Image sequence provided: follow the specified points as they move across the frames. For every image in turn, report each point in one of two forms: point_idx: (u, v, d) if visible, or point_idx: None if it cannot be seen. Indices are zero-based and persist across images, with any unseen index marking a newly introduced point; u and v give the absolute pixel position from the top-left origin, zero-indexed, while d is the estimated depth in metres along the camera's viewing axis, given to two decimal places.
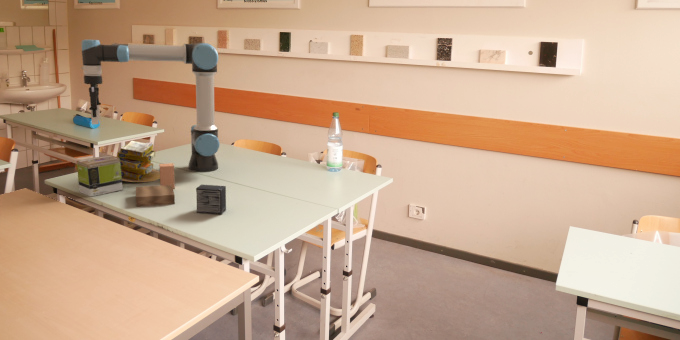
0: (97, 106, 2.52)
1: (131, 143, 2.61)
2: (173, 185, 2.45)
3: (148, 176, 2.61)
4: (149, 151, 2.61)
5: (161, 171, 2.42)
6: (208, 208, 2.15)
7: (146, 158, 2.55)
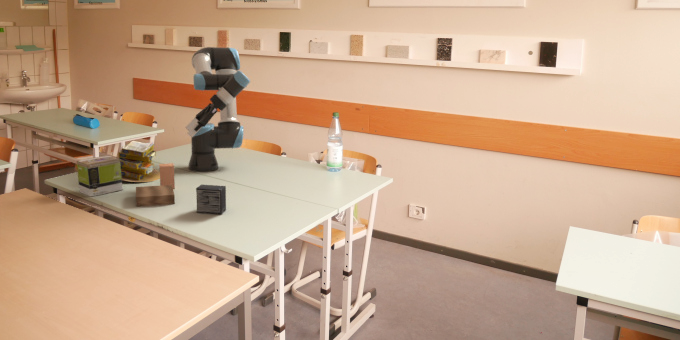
0: (197, 121, 2.51)
1: (132, 143, 2.62)
2: (173, 185, 2.45)
3: (149, 176, 2.62)
4: (150, 151, 2.62)
5: (161, 171, 2.42)
6: (208, 209, 2.15)
7: (147, 158, 2.56)
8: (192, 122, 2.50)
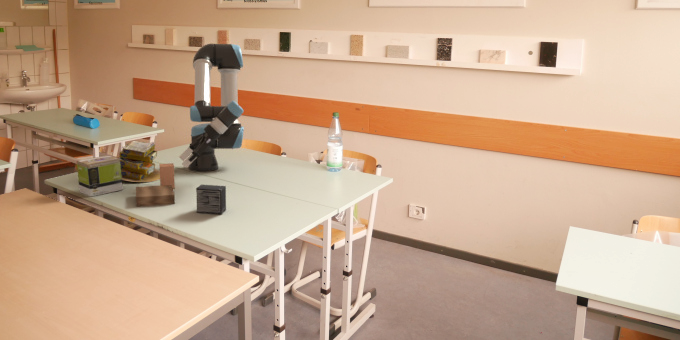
0: (191, 150, 2.53)
1: (133, 143, 2.62)
2: (173, 185, 2.45)
3: (150, 176, 2.62)
4: (151, 151, 2.62)
5: (161, 171, 2.42)
6: (208, 208, 2.15)
7: (148, 158, 2.56)
8: (186, 151, 2.52)
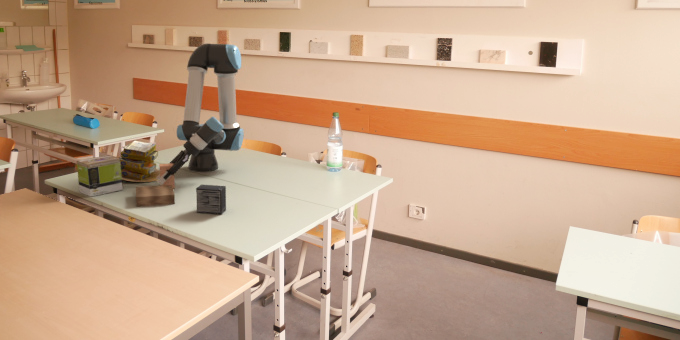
0: None
1: (134, 143, 2.62)
2: (173, 185, 2.45)
3: (151, 176, 2.62)
4: (152, 151, 2.62)
5: (161, 171, 2.42)
6: (208, 209, 2.15)
7: (149, 158, 2.56)
8: None
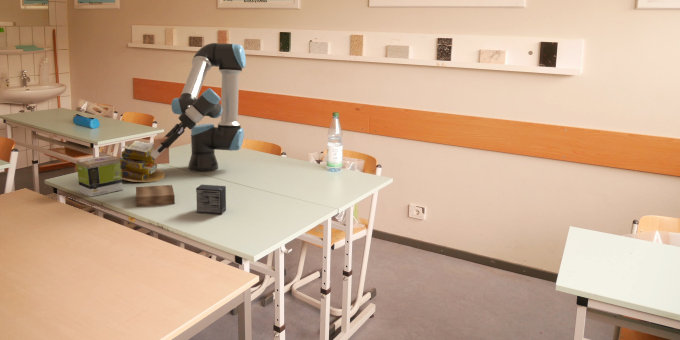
0: None
1: (135, 143, 2.62)
2: (168, 159, 2.36)
3: (152, 176, 2.62)
4: None
5: (156, 144, 2.32)
6: (208, 208, 2.15)
7: (150, 158, 2.56)
8: None
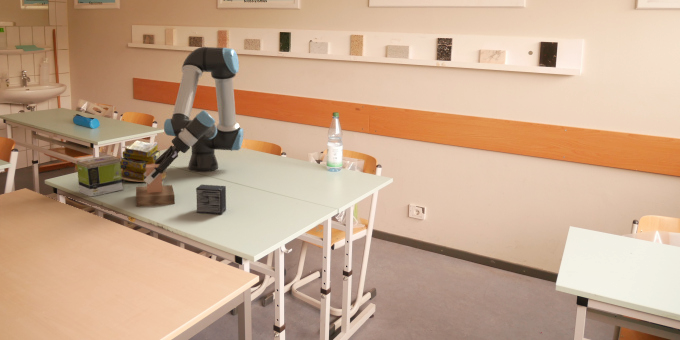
0: None
1: (136, 143, 2.62)
2: (161, 187, 2.27)
3: None
4: (154, 151, 2.62)
5: (148, 172, 2.24)
6: (208, 209, 2.15)
7: (151, 158, 2.56)
8: None
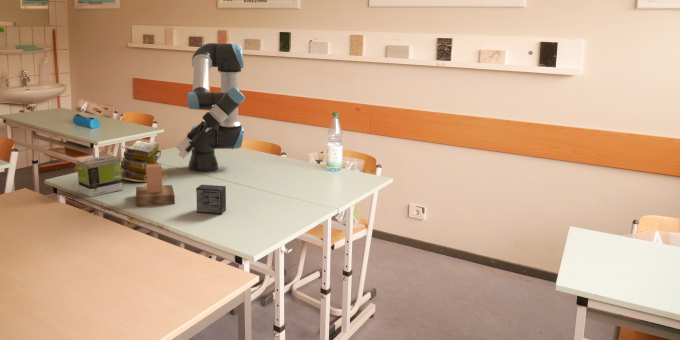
0: (189, 140, 2.35)
1: (137, 143, 2.62)
2: (161, 187, 2.27)
3: None
4: (155, 151, 2.62)
5: (148, 172, 2.24)
6: (208, 209, 2.15)
7: (152, 158, 2.56)
8: (183, 141, 2.35)
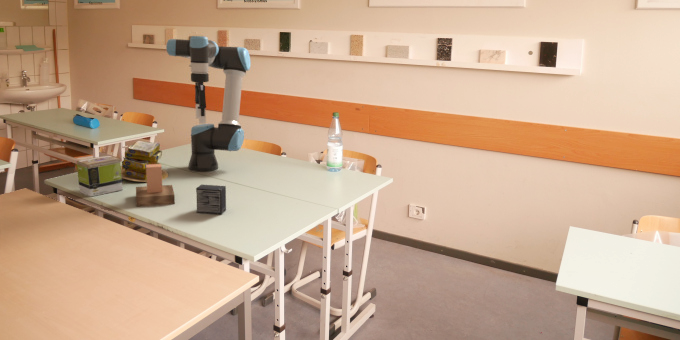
0: None
1: (138, 143, 2.62)
2: (161, 187, 2.27)
3: None
4: (156, 151, 2.63)
5: (148, 172, 2.24)
6: (208, 209, 2.15)
7: (153, 158, 2.57)
8: (197, 109, 2.44)
